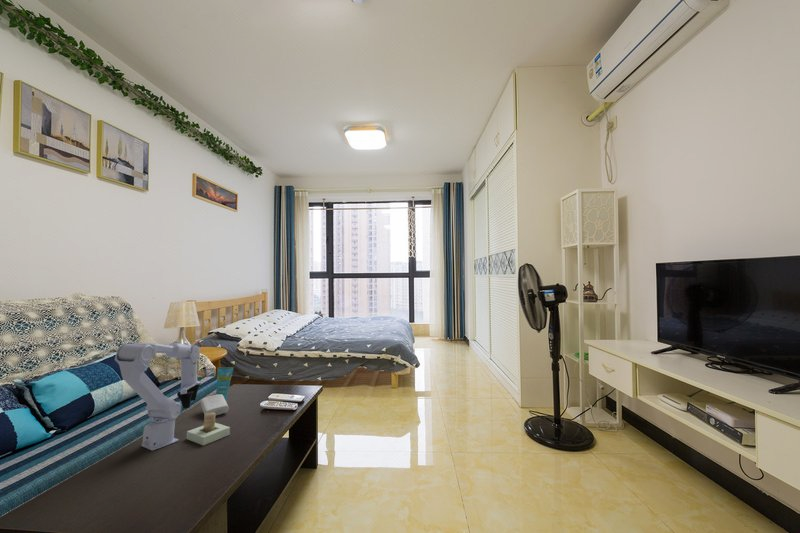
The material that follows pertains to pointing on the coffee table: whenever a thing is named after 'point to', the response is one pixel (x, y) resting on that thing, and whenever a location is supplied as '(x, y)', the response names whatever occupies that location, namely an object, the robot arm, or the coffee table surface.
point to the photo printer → (214, 404)
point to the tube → (224, 381)
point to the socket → (208, 434)
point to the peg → (209, 422)
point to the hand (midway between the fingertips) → (189, 404)
